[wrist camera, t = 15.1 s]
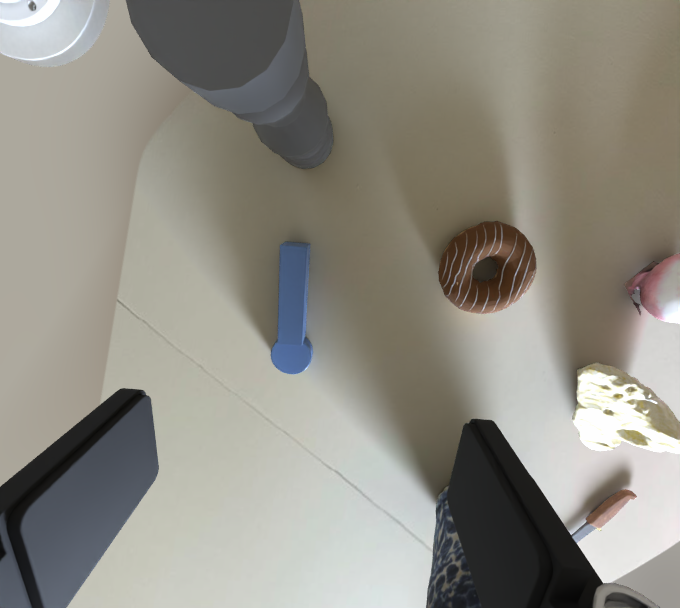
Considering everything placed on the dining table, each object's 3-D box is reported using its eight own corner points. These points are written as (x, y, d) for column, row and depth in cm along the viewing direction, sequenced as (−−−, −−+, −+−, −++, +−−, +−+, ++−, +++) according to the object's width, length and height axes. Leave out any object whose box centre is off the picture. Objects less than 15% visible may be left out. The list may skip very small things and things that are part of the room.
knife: (564, 565, 51) (550, 558, 51) (560, 559, 52) (546, 552, 52) (641, 499, 47) (626, 491, 46) (635, 493, 48) (620, 485, 47)
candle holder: (323, 96, 33) (261, -176, 9) (340, 158, 35) (325, 65, 11) (268, 116, 34) (77, -91, 10) (287, 176, 35) (164, 123, 12)
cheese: (624, 420, 46) (744, 387, 34) (623, 468, 43) (757, 452, 30) (522, 368, 49) (597, 320, 37) (513, 409, 46) (592, 371, 33)
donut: (543, 262, 38) (565, 269, 34) (475, 324, 40) (488, 337, 36) (483, 200, 36) (500, 200, 32) (416, 269, 38) (423, 276, 34)
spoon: (276, 240, 38) (269, 243, 35) (319, 244, 38) (317, 248, 35) (273, 365, 43) (267, 378, 40) (311, 369, 43) (308, 381, 40)
